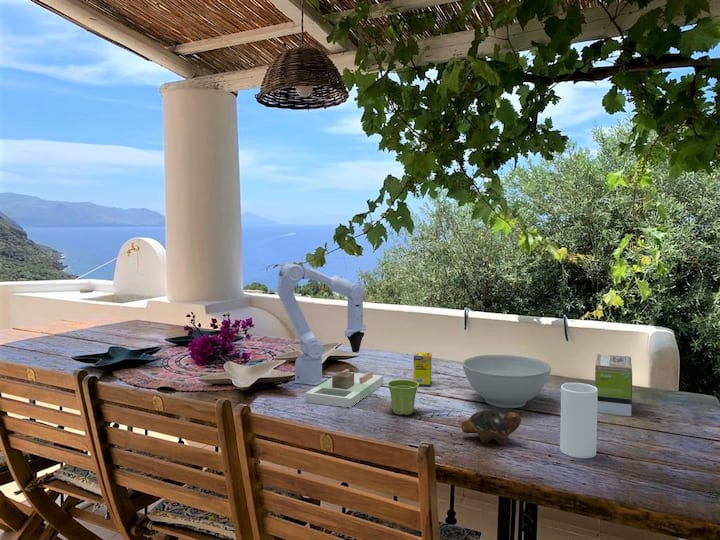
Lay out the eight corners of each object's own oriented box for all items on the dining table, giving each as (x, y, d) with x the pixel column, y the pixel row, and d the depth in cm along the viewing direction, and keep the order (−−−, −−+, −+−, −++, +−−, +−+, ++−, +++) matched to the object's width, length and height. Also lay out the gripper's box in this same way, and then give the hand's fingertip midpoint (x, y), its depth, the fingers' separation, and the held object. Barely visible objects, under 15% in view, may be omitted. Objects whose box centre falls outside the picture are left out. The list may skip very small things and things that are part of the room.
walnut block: (332, 387, 175) (332, 375, 175) (339, 383, 180) (339, 371, 180) (347, 389, 173) (347, 377, 173) (354, 384, 178) (354, 373, 178)
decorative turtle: (524, 449, 132) (522, 418, 131) (462, 449, 134) (460, 419, 134) (519, 432, 141) (517, 403, 140) (461, 433, 144) (459, 405, 143)
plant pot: (401, 404, 166) (401, 377, 166) (425, 411, 160) (425, 383, 159) (381, 412, 160) (380, 383, 159) (404, 419, 153) (404, 390, 153)
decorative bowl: (564, 400, 169) (565, 363, 168) (526, 423, 149) (526, 381, 148) (488, 384, 187) (489, 350, 186) (446, 403, 168) (446, 365, 167)
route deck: (305, 402, 170) (305, 386, 170) (342, 379, 195) (342, 366, 195) (350, 408, 163) (350, 392, 163) (383, 384, 189) (383, 370, 189)
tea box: (596, 398, 171) (597, 352, 170) (630, 402, 167) (632, 355, 166) (593, 412, 158) (595, 363, 157) (631, 417, 153) (633, 367, 152)
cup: (554, 445, 134) (555, 383, 133) (585, 443, 135) (586, 382, 133) (569, 459, 126) (571, 393, 125) (603, 457, 126) (604, 391, 125)
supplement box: (430, 387, 185) (430, 356, 184) (413, 386, 186) (413, 355, 185) (431, 382, 191) (431, 352, 190) (415, 381, 192) (415, 351, 191)
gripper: (357, 319, 189) (357, 357, 190) (372, 313, 202) (372, 348, 203) (339, 318, 192) (339, 355, 193) (355, 312, 205) (356, 347, 206)
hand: (355, 352), depth 198 cm, fingers closed
